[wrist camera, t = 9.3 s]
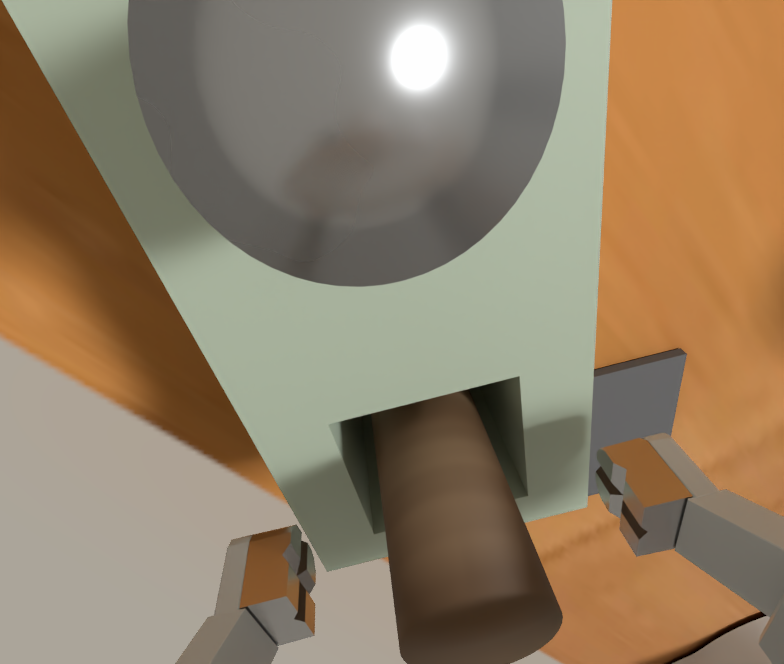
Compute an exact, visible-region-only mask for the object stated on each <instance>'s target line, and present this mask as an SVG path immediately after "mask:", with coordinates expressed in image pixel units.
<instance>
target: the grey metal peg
mask: <svg viewBox="0 0 784 664" xmlns="http://www.w3.org/2000/svg"><path fill="white" fill-rule="evenodd" d="M127 26H128V42H129V58H130V64H131V69H132V74H133V80H134V85H135V91H136V95H137V98H138V101H139V105H140V108H141V111H142V114H143V118H144V121H145V124H146V127H147V129H148V131H149V133H150V136H151V138H152V140H153V143H154V145H155V147H156V150H157V152H158V154H159V156H160V158H161V159H162V161H163V163H164V165H165V166H166V168H167V170H168V171H169V173H170V175H171V177H172V178H173V180H174V182H175V183H176V184H177V186H178V187H179V188H180V190H181V191H182V193H183V194H184V195H185V197H186V198H187V199H188V201H189V202H190V203H191V205H192V206H193V207H194V208H195V209H196V210H197V211H198V212H199V213H200V214H201V216H202V217H203V218H204V219H205V220H206V221H207V222H208V223H209V224H210V225H211V226H212V227H213V228H214V229H215V230H217V231H218V232H219V233H220V234H221V235H222V236H223V237H225V238H226V239H227V240H228V241H229V242H231V243H232V244H233V245H235V246H236V247H238V248H239V249H241V250H242V251H244V252H245V253H246V254H248V255H249V256H251V257H253V258H255V259H256V260H258V261H260V262H262V263H264V264H266V265H268V266H269V267H271V268H273V269H276V270H278V271H281V272H283V273H286V274H288V275H291V276H293V277H297V278H301V279H304V280H308V281H312V282H315V283H321V284H328V285H334V286H350V287H365V286H377V285H385V284H390V283H395V282H400V281H404V280H407V279H410V278H413V277H417V276H420V275H423V274H425V273H428V272H430V271H432V270H434V269H436V268H438V267H441V266H443V265H445V264H447V263H448V262H450V261H451V260H453V259H455V258H456V257H458V256H460V255H461V254H463V253H465V252H466V251H467V250H468V249H470V248H471V247H472V246H474V245H475V244H476V243H477V242H479V241H480V240H481V239H483V238H484V237H485V236H486V235H487V234H488V233H489V232H490V231H491V230H492V229H493V228H494V227H495V226H496V225H497V224H498V223H499V222H500V221H501V220H502V219H503V217H504V216H505V215H506V214H507V213H508V211H509V210H510V209H511V208H512V206H513V205H514V204H515V203H516V201H517V200H518V198H519V197H520V195H521V194H522V192H523V191H524V189H525V188H526V186H527V185H528V183H529V182H530V180H531V178H532V176H533V174H534V172H535V170H536V168H537V166H538V164H539V162H540V160H541V158H542V156H543V153H544V151H545V148H546V146H547V143H548V141H549V138H550V136H551V133H552V130H553V126H554V122H555V119H556V115H557V111H558V108H559V104H560V98H561V91H562V85H563V79H564V70H565V50H566V35H565V18H564V7H563V1H562V0H129V3H128V19H127Z"/></svg>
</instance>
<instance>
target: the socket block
mask: <svg viewBox="0 0 784 664" xmlns="http://www.w3.org/2000/svg"><path fill="white" fill-rule="evenodd" d="M562 1H563V7H564V18H565V35H566V50H565V70H564V79H563V85H562V91H561V98H560V104H559V108H558V111H557V115H556V119H555V122H554V126H553V130H552V133H551V136H550V138H549V141H548V143H547V146H546V148H545V151H544V153H543V156H542V158H541V160H540V162H539V164H538V166H537V168H536V170H535V172H534V174H533V176H532V178H531V180H530V182H529V183H528V185H527V186H526V188H525V189H524V191H523V192H522V194H521V195H520V197H519V198H518V200H517V201H516V203H515V204H514V205H513V206H512V208H511V209H510V210H509V211H508V213H507V214H506V215H505V216H504V217H503V219H502V220H501V221H500V222H499V223H498V224H497V225H496V226H495V227H494V228H493V229H492V230H491V231H490V232H489V233H488V234H487V235H486V236H485V237H484V238H483V239H481V240H480V241H479V242H477V243H476V244H475V245H474V246H472V247H471V248H470V249H468V250H467V251H466V252H465V253H463V254H461V255H460V256H458V257H456V258H455V259H453V260H451V261H450V262H448V263H447V264H445V265H443V266H441V267H438V268H436V269H434V270H432V271H430V272H428V273H425V274H423V275H420V276H417V277H413V278H410V279H407V280H404V281H400V282H395V283H390V284H385V285H377V286H365V287H350V286H334V285H328V284H321V283H315V282H312V281H308V280H304V279H301V278H297V277H293V276H291V275H288V274H286V273H283V272H281V271H278V270H276V269H273V268H271V267H269V266H268V265H266V264H264V263H262V262H260V261H258V260H256V259H255V258H253V257H251V256H249V255H248V254H246V253H245V252H244V251H242V250H241V249H239V248H238V247H236V246H235V245H233V244H232V243H231V242H229V241H228V240H227V239H226V238H225V237H223V236H222V235H221V234H220V233H219V232H218V231H217V230H215V229H214V228H213V227H212V226H211V225H210V224H209V223H208V222H207V221H206V220H205V219H204V218H203V217H202V216H201V214H200V213H199V212H198V211H197V210H196V209H195V208H194V207H193V206H192V205H191V203H190V202H189V201H188V199H187V198H186V197H185V195H184V194H183V193H182V191H181V190H180V188H179V187H178V186H177V184H176V183H175V182H174V180H173V178H172V177H171V175H170V173H169V171H168V170H167V168H166V166H165V165H164V163H163V161H162V159H161V158H160V156H159V154H158V152H157V150H156V147H155V145H154V143H153V140H152V138H151V136H150V133H149V131H148V129H147V127H146V124H145V121H144V118H143V114H142V111H141V108H140V105H139V101H138V98H137V95H136V91H135V85H134V80H133V74H132V69H131V64H130V58H129V42H128V26H127V19H128V3H129V0H2V2H3V3H4V5H5V7H6V9H7V10H8V12H9V14H10V16H11V17H12V19H13V21H14V23H15V24H16V26H17V28H18V30H19V31H20V33H21V35H22V37H23V38H24V40H25V42H26V44H27V45H28V47H29V49H30V51H31V52H32V54H33V56H34V58H35V59H36V61H37V63H38V65H39V67H40V68H41V70H42V72H43V74H44V75H45V77H46V79H47V81H48V82H49V84H50V86H51V88H52V89H53V91H54V93H55V95H56V96H57V98H58V100H59V102H60V103H61V105H62V107H63V109H64V110H65V112H66V114H67V116H68V117H69V119H70V121H71V123H72V124H73V126H74V128H75V130H76V131H77V133H78V135H79V137H80V139H81V140H82V142H83V144H84V146H85V147H86V149H87V151H88V153H89V154H90V156H91V158H92V160H93V161H94V163H95V165H96V167H97V168H98V170H99V172H100V174H101V175H102V177H103V179H104V181H105V182H106V184H107V186H108V188H109V189H110V191H111V193H112V195H113V196H114V198H115V200H116V202H117V203H118V205H119V207H120V209H121V210H122V212H123V214H124V216H125V218H126V219H127V221H128V223H129V225H130V226H131V228H132V230H133V232H134V233H135V235H136V237H137V239H138V240H139V242H140V244H141V246H142V247H143V249H144V251H145V253H146V254H147V256H148V258H149V260H150V261H151V263H152V265H153V267H154V268H155V270H156V272H157V274H158V275H159V277H160V279H161V281H162V282H163V284H164V286H165V288H166V289H167V291H168V293H169V295H170V297H171V298H172V300H173V302H174V304H175V305H176V307H177V309H178V311H179V312H180V314H181V316H182V318H183V319H184V321H185V323H186V325H187V326H188V328H189V330H190V332H191V333H192V335H193V337H194V339H195V340H196V342H197V344H198V346H199V347H200V349H201V351H202V353H203V354H204V356H205V358H206V360H207V361H208V363H209V365H210V367H211V369H212V370H213V372H214V374H215V376H216V377H217V379H218V381H219V383H220V384H221V386H222V388H223V390H224V391H225V393H226V395H227V397H228V398H229V400H230V402H231V404H232V405H233V407H234V409H235V411H236V412H237V414H238V416H239V418H240V419H241V421H242V423H243V425H244V426H245V428H246V430H247V432H248V433H249V435H250V437H251V439H252V440H253V442H254V444H255V446H256V448H257V449H258V451H259V453H260V455H261V456H262V458H263V460H264V462H265V463H266V465H267V467H268V469H269V470H270V472H271V474H272V476H273V477H274V479H275V481H276V483H277V484H278V486H279V488H280V490H281V491H282V493H283V495H284V497H285V498H286V500H287V502H288V504H289V505H290V507H291V509H292V511H293V512H294V514H295V516H296V518H297V519H298V521H299V523H300V525H301V526H302V528H303V530H304V532H305V534H306V535H307V537H308V539H309V541H310V542H311V544H312V546H313V548H314V549H315V551H316V553H317V555H318V556H319V558H320V560H321V562H322V563H323V565H324V567H325V569H326V570H327V571H332V570H336V569H340V568H344V567H348V566H352V565H356V564H360V563H364V562H368V561H372V560H376V559H380V558H384V557H388V550H387V542H386V533H385V525H384V517H383V509H382V501H381V493H380V485H379V476H378V468H377V460H376V452H375V444H374V436H373V428H372V419H371V413H375V412H379V411H383V410H387V409H391V408H395V407H399V406H403V405H407V404H411V403H415V402H419V401H423V400H427V399H431V398H435V397H439V396H443V395H447V394H451V393H454V392H458V391H462V390H466V389H469V391H470V394H471V396H472V398H473V401H474V403H475V405H476V408H477V410H478V413H479V415H480V417H481V420H482V422H483V425H484V427H485V429H486V432H487V434H488V437H489V439H490V441H491V444H492V446H493V449H494V451H495V453H496V456H497V458H498V461H499V463H500V465H501V468H502V470H503V473H504V475H505V477H506V480H507V482H508V485H509V487H510V489H511V492H512V494H513V497H514V499H515V501H516V504H517V506H518V509H519V511H520V513H521V516H522V518H523V520H524V523H525V522H529V521H533V520H537V519H541V518H545V517H549V516H553V515H557V514H561V513H565V512H569V511H573V510H577V509H581V508H586V507H587V501H588V481H589V461H590V440H591V420H592V400H593V379H594V359H595V339H596V318H597V298H598V278H599V258H600V237H601V217H602V197H603V176H604V156H605V136H606V115H607V95H608V75H609V55H610V34H611V14H612V0H562Z"/></svg>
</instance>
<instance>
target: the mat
mask: <svg viewBox="0 0 784 664" xmlns="http://www.w3.org/2000/svg"><path fill="white" fill-rule="evenodd" d="M686 355H687V354H686V353H685V352H684V351H683V350H682V349H680V348H679V349H675V350H671V351H667V352H663V353H659V354H655V355H652V356H648V357H644V358H640V359H636V360H632V361H628V362H624V363H620V364H616V365H612V366H608V367H604V368H600V369H596V370H594V379H593V400H592V420H591V440H590V461H589V481H588V496H590V495H594V494H598V493H599V492H598V488H597V485H596V471H597V469H598V468H599V467H600V466H601V465H600V464H599V462H598V461H597V459H596V458H597V451H598V450H599V449H600V448H603V447H607V446H611V445H614V444H618V443H622V442H626V441H629V440H633V439H637V438H644V437H648V436H651V435H655V434H659V433H666V434H668V435H670V436H671V432H672V427H673V422H674V417H675V412H676V407H677V401H678V396H679V391H680V386H681V381H682V376H683V371H684V365H685V360H686Z"/></svg>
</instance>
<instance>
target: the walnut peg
mask: <svg viewBox="0 0 784 664" xmlns="http://www.w3.org/2000/svg"><path fill="white" fill-rule="evenodd" d="M371 419H372V428H373V436H374V444H375V452H376V460H377V468H378V476H379V485H380V493H381V501H382V509H383V517H384V525H385V533H386V542H387V550H388V558H389V566H390V573H391V582H392V590H393V598H394V607H395V614H396V623H397V631H398V639H399V647H400V653H401V656H402V658H403V660H404V661H405V662H406V663H407V664H510V663H513V662H515V661H517V660H520V659H522V658H524V657H526V656H528V655H530V654H532V653H534V652H535V651H537V650H538V649H540V648H541V647H543V646H544V645H545V644H547V643H548V642H549V641H550V640H551V639H552V638H553V637H554V636H555V634H556V633H557V632H558V630H559V629H560V626H561V624H562V619H563V616H562V612H561V609H560V607H559V604H558V602H557V600H556V597H555V595H554V592H553V590H552V588H551V585H550V583H549V580H548V578H547V576H546V573H545V571H544V568H543V566H542V564H541V561H540V559H539V556H538V554H537V552H536V549H535V547H534V544H533V542H532V540H531V537H530V535H529V532H528V530H527V528H526V525H525V523H524V520H523V518H522V516H521V513H520V511H519V509H518V506H517V504H516V501H515V499H514V497H513V494H512V492H511V489H510V487H509V485H508V482H507V480H506V477H505V475H504V473H503V470H502V468H501V465H500V463H499V461H498V458H497V456H496V453H495V451H494V449H493V446H492V444H491V441H490V439H489V437H488V434H487V432H486V429H485V427H484V425H483V422H482V420H481V417H480V415H479V413H478V410H477V408H476V405H475V403H474V401H473V398H472V396H471V394H470V391H469V389H466V390H462V391H458V392H454V393H451V394H447V395H443V396H439V397H435V398H431V399H427V400H423V401H419V402H415V403H411V404H407V405H403V406H399V407H395V408H391V409H387V410H383V411H379V412H375V413H371Z"/></svg>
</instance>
